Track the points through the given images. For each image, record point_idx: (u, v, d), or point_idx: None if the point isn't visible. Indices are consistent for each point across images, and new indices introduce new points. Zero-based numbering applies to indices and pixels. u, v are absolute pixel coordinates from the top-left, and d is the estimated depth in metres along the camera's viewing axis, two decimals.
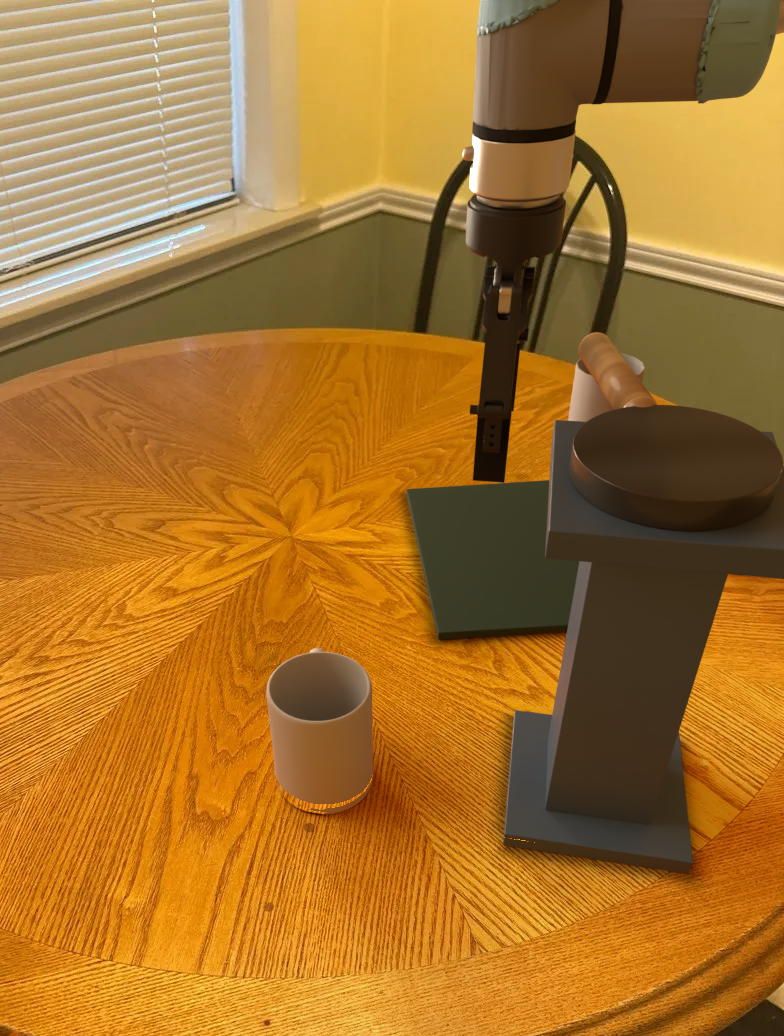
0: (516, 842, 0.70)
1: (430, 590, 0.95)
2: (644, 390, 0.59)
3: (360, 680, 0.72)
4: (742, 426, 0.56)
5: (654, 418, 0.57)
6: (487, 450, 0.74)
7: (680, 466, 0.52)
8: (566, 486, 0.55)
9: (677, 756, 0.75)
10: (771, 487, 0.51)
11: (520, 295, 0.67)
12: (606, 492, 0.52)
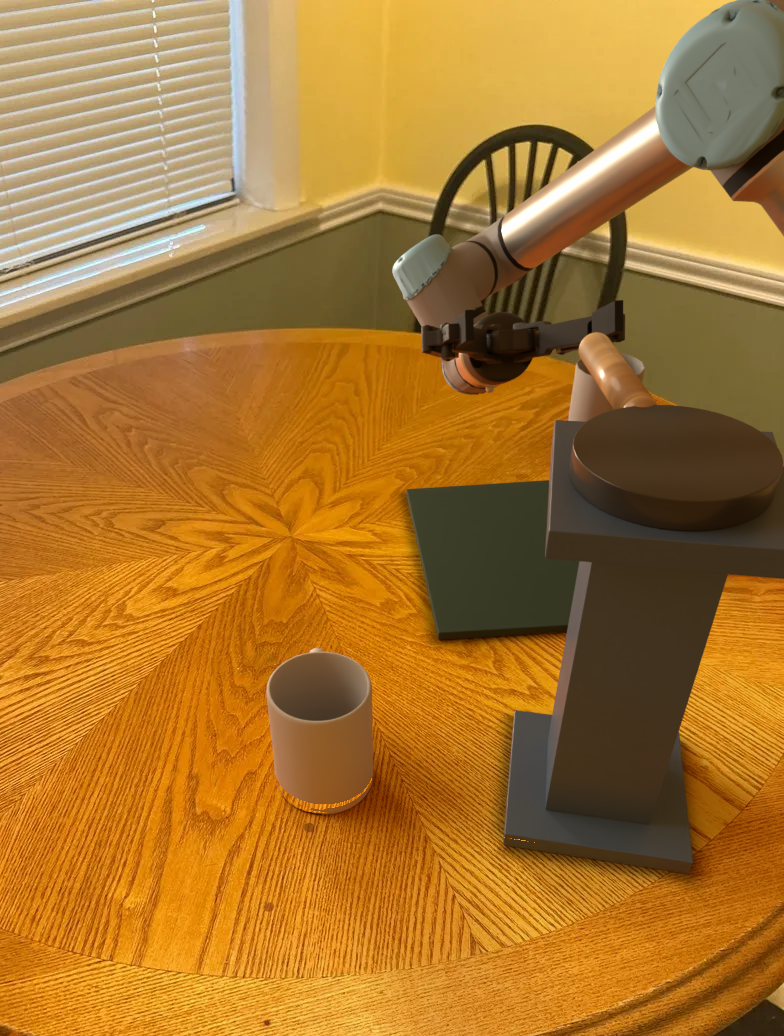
0: (516, 842, 0.70)
1: (430, 590, 0.95)
2: (644, 390, 0.59)
3: (360, 680, 0.72)
4: (742, 426, 0.56)
5: (654, 418, 0.57)
6: (447, 335, 0.85)
7: (680, 466, 0.52)
8: (566, 486, 0.55)
9: (677, 756, 0.75)
10: (771, 487, 0.51)
11: None
12: (606, 492, 0.52)
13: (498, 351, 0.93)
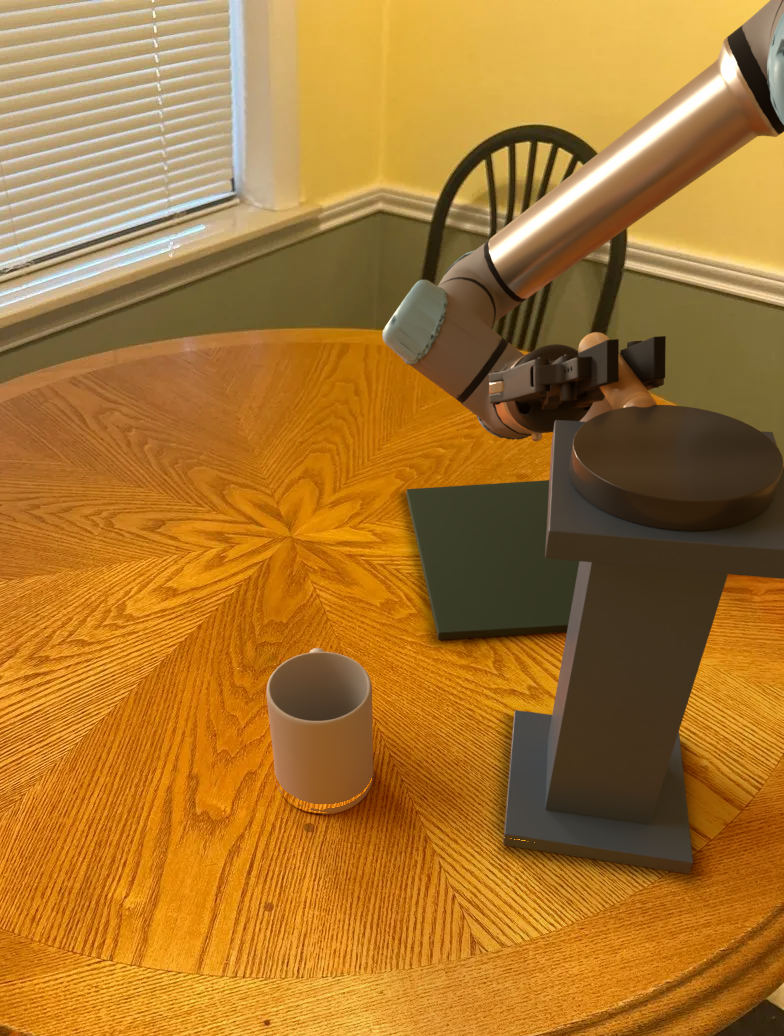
0: (516, 842, 0.70)
1: (430, 590, 0.95)
2: (644, 390, 0.59)
3: (360, 680, 0.72)
4: (742, 426, 0.56)
5: (654, 418, 0.57)
6: (575, 372, 0.63)
7: (680, 466, 0.52)
8: (566, 486, 0.55)
9: (677, 756, 0.75)
10: (771, 487, 0.51)
11: (490, 374, 0.75)
12: (606, 492, 0.52)
13: None
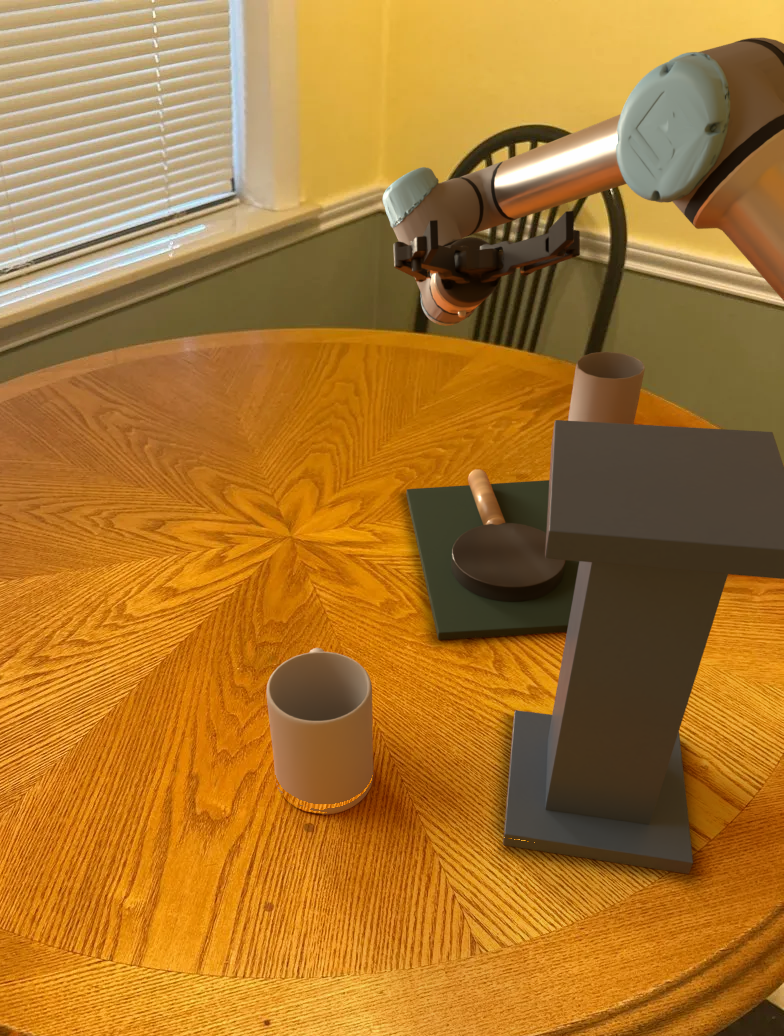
0: (516, 842, 0.70)
1: (430, 590, 0.95)
2: (498, 513, 1.01)
3: (360, 680, 0.72)
4: None
5: (500, 532, 0.99)
6: (416, 247, 0.93)
7: (508, 564, 0.94)
8: (566, 486, 0.55)
9: (677, 756, 0.75)
10: (555, 577, 0.93)
11: None
12: (467, 579, 0.94)
13: (465, 270, 1.02)
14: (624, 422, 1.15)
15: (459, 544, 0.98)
